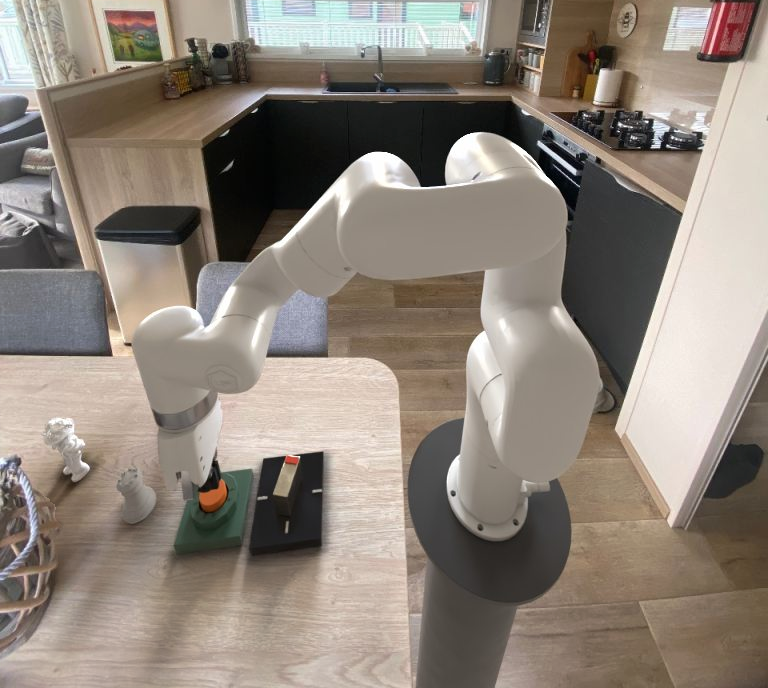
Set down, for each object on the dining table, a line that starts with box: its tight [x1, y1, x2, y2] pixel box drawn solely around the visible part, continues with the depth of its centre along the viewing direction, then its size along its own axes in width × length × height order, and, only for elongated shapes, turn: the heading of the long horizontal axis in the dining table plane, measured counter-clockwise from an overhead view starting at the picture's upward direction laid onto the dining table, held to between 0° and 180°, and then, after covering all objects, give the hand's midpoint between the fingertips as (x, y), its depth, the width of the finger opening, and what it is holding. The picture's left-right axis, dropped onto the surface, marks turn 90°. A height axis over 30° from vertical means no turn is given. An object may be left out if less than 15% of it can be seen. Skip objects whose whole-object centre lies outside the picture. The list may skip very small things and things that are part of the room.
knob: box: [273, 454, 302, 517], centre depth 59 cm, size 6×2×5 cm, turn 172°
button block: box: [173, 468, 255, 555], centre depth 59 cm, size 9×9×4 cm
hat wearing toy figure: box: [41, 417, 90, 483], centre depth 63 cm, size 9×4×12 cm, turn 60°
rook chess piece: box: [115, 466, 157, 524], centre depth 58 cm, size 4×4×8 cm
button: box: [199, 479, 227, 513], centre depth 58 cm, size 4×4×2 cm
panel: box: [248, 450, 325, 557], centre depth 60 cm, size 10×12×2 cm
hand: (209, 484), depth 57 cm, fingers closed
